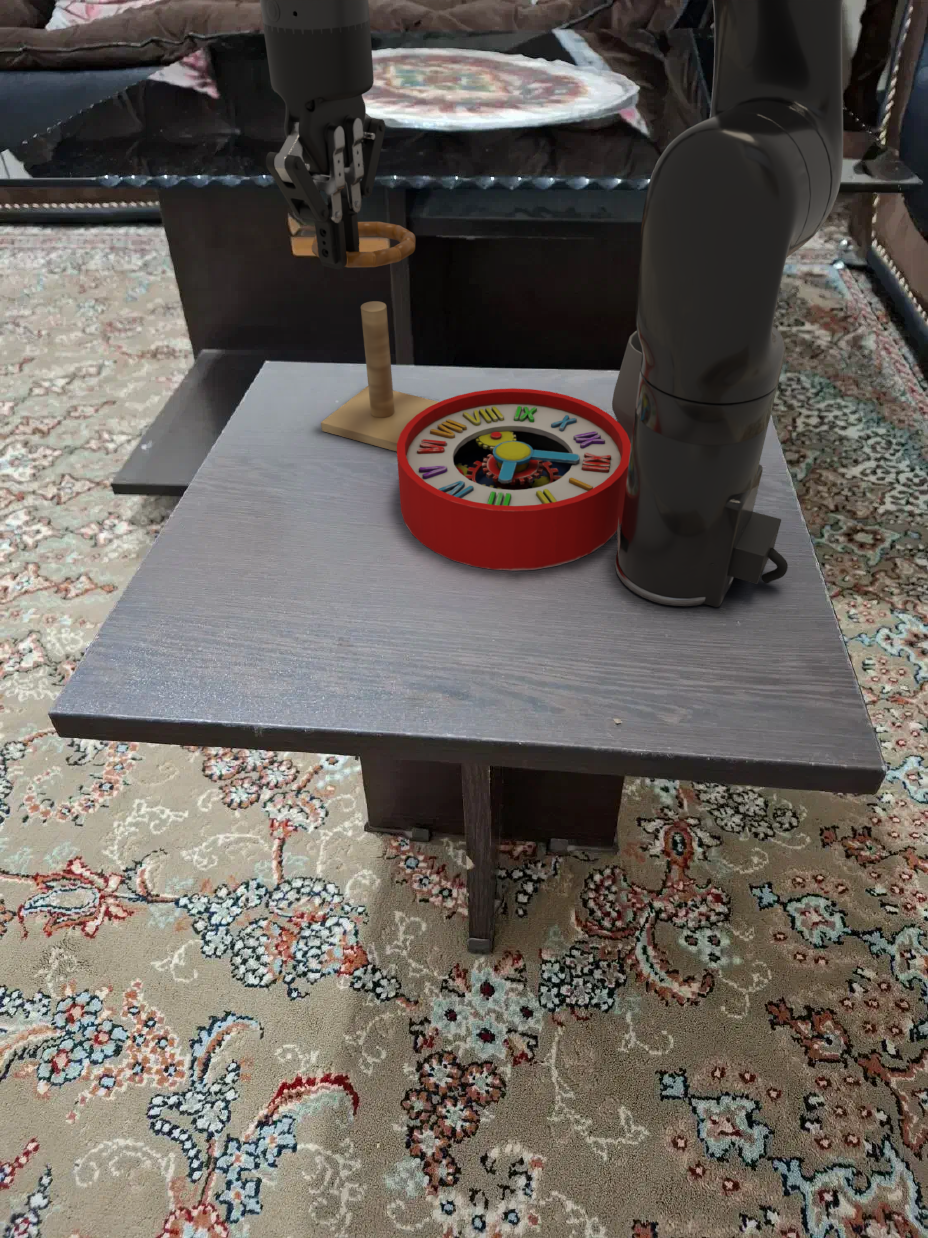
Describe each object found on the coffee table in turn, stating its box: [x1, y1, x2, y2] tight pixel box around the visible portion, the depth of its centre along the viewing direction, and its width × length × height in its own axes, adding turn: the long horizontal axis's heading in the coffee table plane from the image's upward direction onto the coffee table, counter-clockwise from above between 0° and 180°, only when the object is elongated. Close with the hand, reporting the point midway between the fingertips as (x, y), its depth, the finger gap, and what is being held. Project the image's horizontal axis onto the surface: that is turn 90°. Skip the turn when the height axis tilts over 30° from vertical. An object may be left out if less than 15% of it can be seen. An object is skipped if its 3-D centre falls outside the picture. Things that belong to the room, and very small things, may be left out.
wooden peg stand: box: [320, 300, 439, 453], centre depth 87 cm, size 9×9×12 cm
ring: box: [311, 221, 417, 268], centre depth 77 cm, size 9×9×1 cm
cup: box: [611, 330, 642, 443], centre depth 84 cm, size 10×9×10 cm
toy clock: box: [396, 387, 631, 572], centre depth 78 cm, size 20×6×20 cm
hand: (340, 261), depth 75 cm, fingers closed on ring, 1 cm apart
